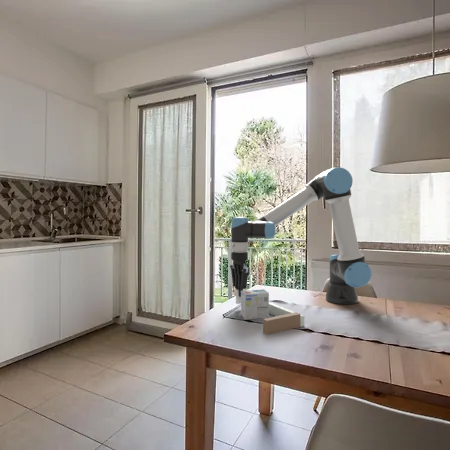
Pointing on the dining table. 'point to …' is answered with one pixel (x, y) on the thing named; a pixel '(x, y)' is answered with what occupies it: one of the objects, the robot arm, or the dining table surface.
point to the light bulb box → (254, 304)
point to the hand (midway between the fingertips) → (239, 303)
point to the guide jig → (281, 320)
